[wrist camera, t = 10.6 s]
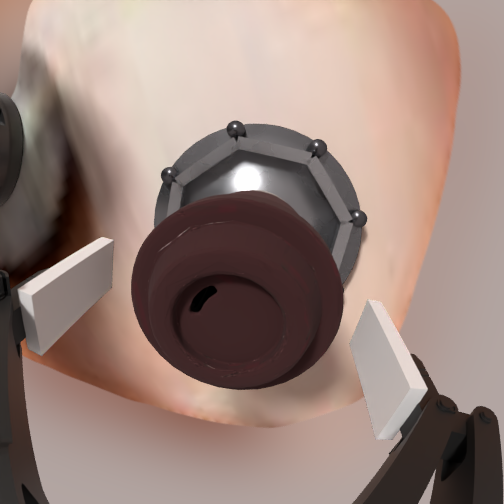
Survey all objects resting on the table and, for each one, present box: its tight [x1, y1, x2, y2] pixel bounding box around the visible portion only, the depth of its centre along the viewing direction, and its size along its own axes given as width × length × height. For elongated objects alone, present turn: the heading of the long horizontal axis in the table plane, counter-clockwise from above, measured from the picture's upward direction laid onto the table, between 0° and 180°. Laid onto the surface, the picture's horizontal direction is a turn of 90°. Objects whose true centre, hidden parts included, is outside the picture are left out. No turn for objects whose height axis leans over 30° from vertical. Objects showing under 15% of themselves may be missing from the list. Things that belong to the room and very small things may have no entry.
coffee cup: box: [131, 190, 343, 390], centre depth 20 cm, size 10×10×15 cm
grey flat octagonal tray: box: [154, 121, 367, 293], centre depth 27 cm, size 18×18×2 cm
